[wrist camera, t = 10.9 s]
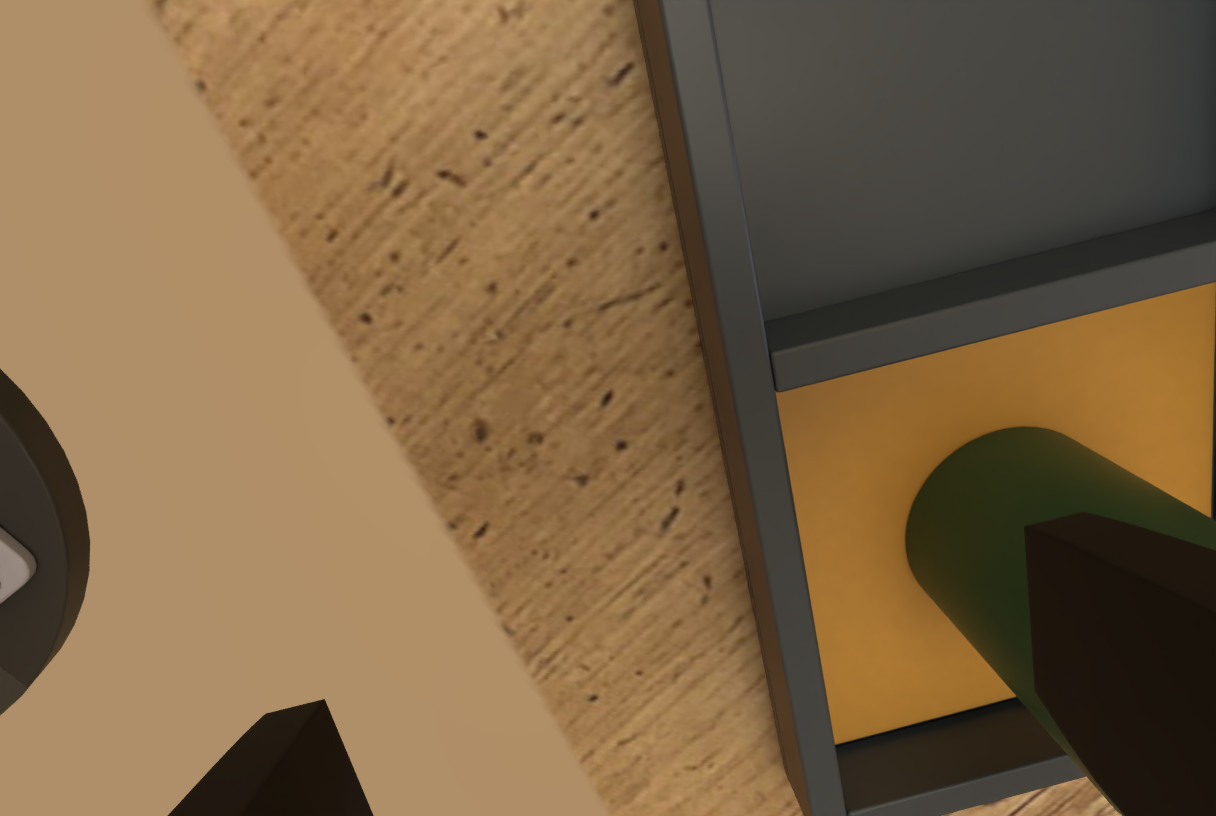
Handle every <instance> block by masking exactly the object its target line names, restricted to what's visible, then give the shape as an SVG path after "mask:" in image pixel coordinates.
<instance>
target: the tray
mask: <svg viewBox="0 0 1216 816" xmlns="http://www.w3.org/2000/svg"><path fill="white" fill-rule="evenodd" d="M633 1H634V6H635V11H636V16H637V21H638V26H639V31H640V36H641V42H642V47H643V52H644V57H645V62H646V67H647V72H648V77H649V82H650V87H651V92H652V97H653V103H654V108H655V113H656V118H657V123H658V128H659V133H660V138H661V143H662V148H663V153H664V158H665V164H666V169H667V174H668V179H669V184H670V189H671V194H672V199H673V204H674V209H675V214H676V219H677V225H678V230H679V235H680V240H681V245H682V250H683V255H684V260H685V265H686V270H687V275H688V280H689V285H690V291H691V296H692V301H693V306H694V311H695V316H696V321H697V326H698V331H699V336H700V341H701V346H702V352H703V357H704V362H705V367H706V372H707V377H708V382H709V387H710V392H711V397H712V402H713V407H714V413H715V418H716V423H717V428H718V433H719V438H720V443H721V448H722V453H723V458H724V463H725V468H726V474H727V479H728V484H729V489H730V494H731V499H732V504H733V509H734V514H735V519H736V524H737V529H738V535H739V540H740V545H741V550H742V555H743V560H744V565H745V570H746V575H747V580H748V585H749V590H750V596H751V601H752V606H753V611H754V616H755V621H756V626H757V631H758V636H759V641H760V646H761V651H762V656H763V662H764V667H765V672H766V677H767V682H768V687H769V692H770V697H771V702H772V707H773V712H774V717H775V723H776V728H777V733H778V738H779V743H780V748H781V753H782V758H783V763H784V768H785V773H786V775H787V777H788V780H789V782H790V784H791V786H792V789H793V791H794V793H795V796H796V798H797V801H798V803H799V805H800V808H801V810H802V812H803V815H804V816H941V815H945V814H949V813H952V812H956V811H960V810H964V809H967V808H971V807H975V806H978V805H982V804H986V803H990V802H993V801H997V800H1001V799H1004V798H1008V797H1012V796H1016V795H1019V794H1023V793H1027V792H1030V791H1034V790H1038V789H1042V788H1045V787H1049V786H1053V785H1056V784H1060V783H1064V782H1068V781H1071V780H1075V779H1079V778H1082V777H1086V775H1085V774H1084V773H1083V772H1082V771H1081V769H1080V768H1079V767H1078V766H1077V765H1076V764H1075V763H1074V761H1073V760H1072V759H1071V758H1070V757H1069V756H1068V755H1067V753H1066V752H1065V751H1064V750H1063V749H1062V748H1061V747H1060V745H1059V744H1058V743H1057V742H1056V741H1055V740H1054V739H1053V737H1052V736H1051V735H1050V734H1049V733H1048V732H1047V731H1046V729H1045V728H1044V727H1043V726H1042V725H1041V724H1040V723H1039V721H1038V720H1037V719H1036V718H1035V717H1034V716H1033V715H1032V713H1031V712H1030V711H1029V710H1028V709H1027V708H1026V707H1025V705H1024V704H1023V703H1022V702H1021V701H1020V700H1019V699H1018V697H1017V696H1016V695H1015V694H1014V693H1013V692H1012V691H1011V689H1010V688H1009V687H1008V686H1007V685H1006V684H1005V683H1004V681H1003V680H1002V679H1001V678H1000V677H999V676H998V675H997V673H996V672H995V671H994V670H993V669H992V668H991V667H990V665H989V664H988V663H987V662H986V661H985V660H984V659H983V657H982V656H981V655H980V654H979V653H978V652H977V650H976V649H975V648H974V647H973V646H972V645H971V644H970V642H969V641H968V640H967V639H966V638H965V637H964V636H963V634H962V633H961V632H960V631H959V630H958V629H957V628H956V626H955V625H954V624H953V623H952V622H951V621H950V620H949V618H948V617H947V616H946V615H945V614H944V613H943V612H942V610H941V609H940V608H939V607H938V606H937V605H936V604H935V602H934V601H933V600H932V599H931V598H930V597H929V596H928V594H927V593H926V592H925V591H924V590H923V589H922V587H921V586H920V585H919V584H918V582H917V580H916V579H915V577H914V575H913V573H912V570H911V568H910V565H909V562H908V557H907V552H906V528H907V523H908V518H909V514H910V511H911V508H912V505H913V503H914V501H915V499H916V497H917V495H918V492H919V491H920V489H921V487H922V486H923V484H924V483H925V481H926V480H927V478H928V477H929V476H930V475H931V474H932V472H933V471H934V470H935V469H936V468H937V467H938V466H939V465H940V464H941V463H942V462H943V461H944V460H945V459H946V458H947V457H948V456H950V455H951V454H952V453H953V452H955V451H956V450H957V449H959V448H960V447H962V446H964V445H965V444H967V443H968V442H970V441H972V440H974V439H976V438H979V437H981V436H983V435H986V434H989V433H992V432H994V431H998V430H1003V429H1007V428H1015V427H1039V428H1045V429H1050V430H1053V431H1056V432H1059V433H1062V434H1064V435H1066V436H1068V437H1070V438H1072V439H1074V440H1075V441H1077V442H1079V443H1081V444H1082V445H1084V446H1086V447H1088V448H1089V449H1091V450H1093V451H1095V452H1096V453H1098V454H1100V455H1102V456H1103V457H1105V458H1107V459H1109V460H1110V461H1112V462H1114V463H1116V464H1117V465H1119V466H1121V467H1123V468H1124V469H1126V470H1128V471H1130V472H1131V473H1133V474H1135V475H1137V476H1138V477H1140V478H1142V479H1144V480H1145V481H1147V482H1149V483H1151V484H1152V485H1154V486H1156V487H1158V488H1159V489H1161V490H1163V491H1165V492H1166V493H1168V494H1170V495H1172V496H1173V497H1175V498H1177V499H1179V500H1180V501H1182V502H1184V503H1186V504H1187V505H1189V506H1191V507H1193V508H1194V509H1196V510H1198V511H1200V512H1201V513H1203V514H1205V515H1207V516H1208V517H1210V518H1212V519H1214V520H1215V521H1216V0H633Z"/></svg>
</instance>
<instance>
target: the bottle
mask: <svg viewBox="0 0 1216 816" xmlns="http://www.w3.org/2000/svg"><path fill="white" fill-rule="evenodd" d="M1079 512H1088V513H1092V514H1096V515H1100V516H1104V517H1108V518H1112V519H1116V520H1119V521H1123V522H1126V523H1130V524H1133V525H1137V526H1140V527H1143V528H1147V529H1150V530H1153V531H1156V532H1160V533H1163V534H1166V535H1169V536H1172V537H1176V538H1179V539H1182V540H1185V541H1188V542H1191V543H1195V544H1198V545H1201V546H1204V547H1207V548H1210V549H1213V550H1216V521H1215V520H1214V519H1212V518H1210V517H1208V516H1207V515H1205V514H1203V513H1201V512H1200V511H1198V510H1196V509H1194V508H1193V507H1191V506H1189V505H1187V504H1186V503H1184V502H1182V501H1180V500H1179V499H1177V498H1175V497H1173V496H1172V495H1170V494H1168V493H1166V492H1165V491H1163V490H1161V489H1159V488H1158V487H1156V486H1154V485H1152V484H1151V483H1149V482H1147V481H1145V480H1144V479H1142V478H1140V477H1138V476H1137V475H1135V474H1133V473H1131V472H1130V471H1128V470H1126V469H1124V468H1123V467H1121V466H1119V465H1117V464H1116V463H1114V462H1112V461H1110V460H1109V459H1107V458H1105V457H1103V456H1102V455H1100V454H1098V453H1096V452H1095V451H1093V450H1091V449H1089V448H1088V447H1086V446H1084V445H1082V444H1081V443H1079V442H1077V441H1075V440H1074V439H1072V438H1070V437H1068V436H1066V435H1064V434H1062V433H1059V432H1056V431H1053V430H1050V429H1045V428H1039V427H1015V428H1007V429H1003V430H998V431H994V432H992V433H989V434H986V435H983V436H981V437H979V438H976V439H974V440H972V441H970V442H968V443H967V444H965V445H964V446H962V447H960V448H959V449H957V450H956V451H955V452H953V453H952V454H951V455H950V456H948V457H947V458H946V459H945V460H944V461H943V462H942V463H941V464H940V465H939V466H938V467H937V468H936V469H935V470H934V471H933V472H932V474H931V475H930V476H929V477H928V478H927V480H926V481H925V483H924V484H923V486H922V487H921V489H920V491H919V492H918V495H917V497H916V499H915V501H914V503H913V505H912V508H911V511H910V514H909V518H908V523H907V528H906V552H907V557H908V562H909V565H910V568H911V570H912V573H913V575H914V577H915V579H916V580H917V582H918V584H919V585H920V586H921V587H922V589H923V590H924V591H925V592H926V593H927V594H928V596H929V597H930V598H931V599H932V600H933V601H934V602H935V604H936V605H937V606H938V607H939V608H940V609H941V610H942V612H943V613H944V614H945V615H946V616H947V617H948V618H949V620H950V621H951V622H952V623H953V624H954V625H955V626H956V628H957V629H958V630H959V631H960V632H961V633H962V634H963V636H964V637H965V638H966V639H967V640H968V641H969V642H970V644H971V645H972V646H973V647H974V648H975V649H976V650H977V652H978V653H979V654H980V655H981V656H982V657H983V659H984V660H985V661H986V662H987V663H988V664H989V665H990V667H991V668H992V669H993V670H994V671H995V672H996V673H997V675H998V676H999V677H1000V678H1001V679H1002V680H1003V681H1004V683H1005V684H1006V685H1007V686H1008V687H1009V688H1010V689H1011V691H1012V692H1013V693H1014V694H1015V695H1016V696H1017V697H1018V699H1019V700H1020V701H1021V702H1022V703H1023V704H1024V705H1025V707H1026V708H1027V709H1028V710H1029V711H1030V712H1031V713H1032V715H1033V716H1034V717H1035V718H1036V719H1037V720H1038V721H1039V723H1040V724H1041V725H1042V726H1043V727H1044V728H1045V729H1046V731H1047V732H1048V733H1049V734H1050V735H1051V736H1052V737H1053V739H1054V740H1055V741H1056V742H1057V743H1058V744H1059V745H1060V747H1061V748H1062V749H1063V750H1064V751H1065V752H1066V753H1067V755H1068V756H1069V757H1070V758H1071V759H1072V760H1073V761H1074V763H1075V764H1076V765H1077V766H1078V767H1079V768H1080V769H1081V771H1082V772H1083V773H1084V774H1085V775H1086V776H1087V777H1088V779H1089V780H1090V781H1091V782H1092V783H1093V784H1094V785H1095V787H1096V788H1097V789H1098V790H1099V791H1100V792H1101V794H1102V795H1103V796H1104V797H1105V798H1106V799H1107V800H1108V802H1109V803H1110V804H1111V805H1112V806H1113V807H1114V808H1115V810H1116V811H1117V812H1119V813H1120V814H1121V815H1122V816H1124V815H1123V814H1122V812H1121V811H1120V810H1119V809H1118V808H1117V807H1116V805H1115V804H1114V803H1113V802H1112V801H1111V799H1110V798H1109V797H1108V796H1107V795H1106V793H1105V792H1104V791H1103V790H1102V789H1101V787H1100V786H1099V785H1098V784H1097V783H1096V781H1095V780H1094V779H1093V777H1092V776H1091V774H1090V773H1089V771H1088V770H1087V768H1086V767H1085V766H1084V764H1083V763H1082V761H1081V760H1080V758H1079V757H1078V755H1077V754H1076V753H1075V751H1074V750H1073V748H1072V747H1071V745H1070V744H1069V743H1068V741H1067V740H1066V738H1065V737H1064V735H1063V733H1062V732H1061V730H1060V729H1059V727H1058V726H1057V724H1056V723H1055V721H1054V720H1053V718H1052V717H1051V715H1050V714H1049V712H1048V710H1047V709H1046V707H1045V706H1044V704H1043V703H1042V701H1041V700H1040V698H1039V697H1038V695H1037V694H1036V692H1035V688H1034V672H1033V657H1032V642H1031V626H1030V611H1029V596H1028V580H1027V565H1026V550H1025V535H1024V526H1026V525H1030V524H1035V523H1039V522H1043V521H1047V520H1051V519H1055V518H1059V517H1063V516H1067V515H1071V514H1075V513H1079Z"/></svg>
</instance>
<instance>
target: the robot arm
mask: <svg viewBox="0 0 1216 816" xmlns="http://www.w3.org/2000/svg"><path fill="white" fill-rule="evenodd" d="M1024 535H1025V550H1026V565H1027V580H1028V596H1029V611H1030V626H1031V642H1032V657H1033V672H1034V688H1035V692H1036V694H1037V695H1038V697H1039V698H1040V700H1041V701H1042V703H1043V704H1044V706H1045V707H1046V709H1047V710H1048V712H1049V714H1050V715H1051V717H1052V718H1053V720H1054V721H1055V723H1056V724H1057V726H1058V727H1059V729H1060V730H1061V732H1062V733H1063V735H1064V737H1065V738H1066V740H1067V741H1068V743H1069V744H1070V745H1071V747H1072V748H1073V750H1074V751H1075V753H1076V754H1077V755H1078V757H1079V758H1080V760H1081V761H1082V763H1083V764H1084V766H1085V767H1086V768H1087V770H1088V771H1089V773H1090V774H1091V776H1092V777H1093V779H1094V780H1095V781H1096V783H1097V784H1098V785H1099V786H1100V787H1101V789H1102V790H1103V791H1104V792H1105V793H1106V795H1107V796H1108V797H1109V798H1110V799H1111V801H1112V802H1113V803H1114V804H1115V805H1116V807H1117V808H1118V809H1119V810H1120V811H1121V812H1122V814H1123V815H1124V816H1216V550H1213V549H1210V548H1207V547H1204V546H1201V545H1198V544H1195V543H1191V542H1188V541H1185V540H1182V539H1179V538H1176V537H1172V536H1169V535H1166V534H1163V533H1160V532H1156V531H1153V530H1150V529H1147V528H1143V527H1140V526H1137V525H1133V524H1130V523H1126V522H1123V521H1119V520H1116V519H1112V518H1108V517H1104V516H1100V515H1096V514H1092V513H1088V512H1079V513H1075V514H1071V515H1067V516H1063V517H1059V518H1055V519H1051V520H1047V521H1043V522H1039V523H1035V524H1030V525H1026V526H1024ZM36 566H37V564H36V561H35V558H34V556H33V555H32V554H31V553H30V552H29V550H27V549H26V548H25V547H24V546H23V545H21V544H20V543H19V542H18V541H17V540H15V539H14V538H13V537H12V536H11V535H9V534H8V533H7V532H6V531H5V530H4V529H2V528H1V527H0V582H1V585H0V604H1V603H2V602H3V601H4V600H6V599H7V598H8V597H9V596H11V595H12V594H13V593H14V592H16V591H17V590H18V589H19V588H21V587H22V586H23V585H24V584H25V583H26V582H27V581H28V580H29V579H30V578H31V577H32V576H33V575H34V573H35V572H36ZM168 816H373V813H372V811H371V809H370V806H369V804H368V801H367V799H366V797H365V794H364V792H363V790H362V788H361V785H360V782H359V780H358V778H357V775H356V773H355V771H354V768H353V766H352V764H351V761H350V758H349V756H348V754H347V751H346V749H345V747H344V744H343V742H342V739H341V737H340V735H339V732H338V730H337V727H336V725H335V723H334V720H333V718H332V716H331V713H330V711H329V708H328V706H327V704H326V701H325V699H323V700H319V701H316V702H311V703H307V704H303V705H299V706H295V707H291V708H287V709H283V710H279V711H275V712H271V713H267V714H265V715H264V716H263V717H262V718H260V719H259V720H258V721H257V722H256V723H255V724H254V725H253V726H252V727H251V728H250V729H249V730H248V731H247V732H246V733H245V734H244V735H243V736H242V737H241V738H240V739H239V740H238V741H237V742H236V743H235V744H234V745H233V746H232V747H231V748H230V749H229V750H228V751H227V752H226V754H225V755H223V757H222V758H221V759H220V760H219V761H218V762H217V763H216V764H215V765H214V766H213V767H212V768H211V769H210V771H209V772H208V773H207V774H206V775H205V776H204V777H203V778H202V779H201V780H200V781H199V782H198V783H197V784H196V786H195V787H194V788H193V789H192V790H191V791H190V792H189V793H188V794H187V795H186V796H185V798H184V799H183V800H182V801H181V802H180V803H179V804H178V805H177V806H176V807H175V808H174V809H173V811H172V812H171V813H170V814H169V815H168Z"/></svg>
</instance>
